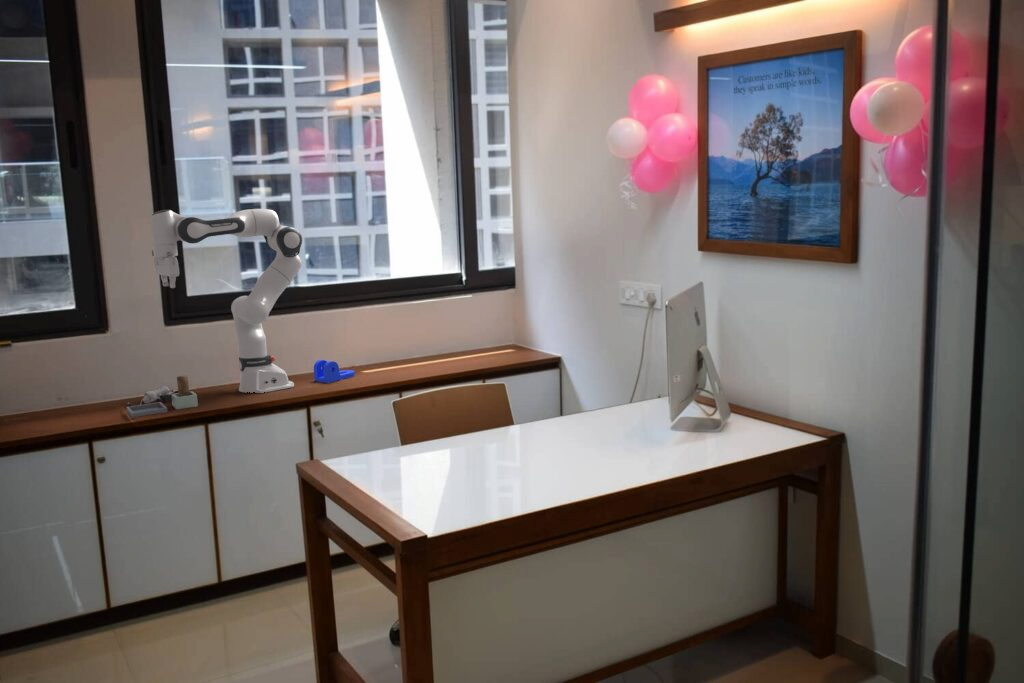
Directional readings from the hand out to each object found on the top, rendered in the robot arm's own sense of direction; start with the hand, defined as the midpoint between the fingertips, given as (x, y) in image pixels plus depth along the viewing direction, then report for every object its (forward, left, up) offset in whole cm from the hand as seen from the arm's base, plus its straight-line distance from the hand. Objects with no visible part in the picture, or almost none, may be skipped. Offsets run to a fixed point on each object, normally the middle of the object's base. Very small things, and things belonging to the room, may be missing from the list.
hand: (169, 287), depth 365 cm
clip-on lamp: (+10, -1, -46) cm, 47 cm away
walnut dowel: (+1, +15, -45) cm, 47 cm away
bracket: (-66, 0, -46) cm, 81 cm away
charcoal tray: (+15, +15, -46) cm, 51 cm away
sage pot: (+1, +15, -46) cm, 48 cm away
